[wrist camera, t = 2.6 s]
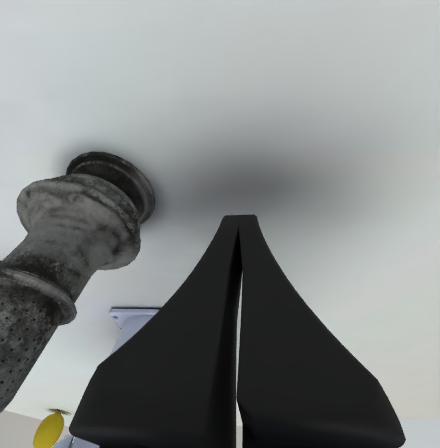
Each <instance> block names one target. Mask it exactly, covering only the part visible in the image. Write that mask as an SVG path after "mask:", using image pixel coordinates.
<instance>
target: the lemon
mask: <svg viewBox="0 0 440 448" xmlns="http://www.w3.org/2000/svg"><path fill="white" fill-rule="evenodd" d="M63 426H64V419H63V417H62V416H61V413H60V411H57V412H56V413H54V414H51V415H49V416H48V417H46V418H45V419H44V420H43V421H42V422H41V424H40V426H39V427H38V429H37V431H36V433H35V436H34V441H33V445H34V448H51V447H52V446H53V445H54V444H55V443H56V441H57V440H58V438H59V437H60V435H61V433H62V430H63Z"/></svg>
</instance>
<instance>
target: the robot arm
mask: <svg viewBox="0 0 440 448" xmlns="http://www.w3.org/2000/svg"><path fill="white" fill-rule="evenodd" d="M242 272H243V279H242V306H241V328H240V348H239V365H238V382H237V397H236V346H237V317H238V307H239V298H240V288H241V278H242ZM109 315H110V316H111V317H112V319H113V320H114V321H115V322H116V324H117V325H118V326H119V327H120V329H121V331H120V334H119V336H118V339H117V341H116V344H115V346H114V348H113V351H112V353H111V355H110V356H109V357H108V358H107V359H105V360H104V361H103V362H102V363H101V364H99V365H98V367H97V369H96V371H95V373H94V374H93V376H92V378H91V380H90V382H89V384H88V386H87V388H86V390H85V392H84V394H83V397H82V399H81V401H80V404H79V406H78V408H77V411H76V413H75V415H74V417H73V420H72V422H71V424H70V427H69V431H70V433H71V435H69V434H68V435H66V436H65V437H64V438H63V439H62V440H60V441H59V442H57V443H56V444H55V445H54V446H53V448H236V398H237V403H238V407H239V411H240V415H241V419H242V423H243V443H242V447H243V448H399V447H401V446H402V445H403V444H404V443H405V440H406V439H405V436H404V433H403V430H402V427H401V424H400V422H399V419H398V417H397V415H396V413H395V411H394V409H393V407H392V405H391V403H390V401H389V399H388V397H387V395H386V394H385V392H384V390H383V388H382V387H381V385H380V383H379V381H378V380H377V379H376V378H375V377H374V376H373V375H372V374H371V373H370V372H369V371H368V370H367V369H366V368H365V367H364V366H363V365H362V364H361V363H360V362H359V361H358V360H357V359H356V358H355V357H354V356H353V355H352V354H351V353H350V352H349V351H348V350H347V349H346V348H345V347H344V346H343V345H342V344H341V343H340V342H339V341H338V339H337V338H336V337H335V336H334V335H333V334H332V333H331V332H330V331H329V330H328V329H327V328H326V326H325V325H324V324H323V323H322V322H321V321H320V319H319V318H318V317H317V316H316V315H315V314H314V312H313V311H312V310H311V309H310V308H309V307H308V305H307V304H306V303H305V302H304V300H303V299H302V298H301V297H300V295H299V294H298V293H297V291H296V290H295V289H294V287H293V286H292V284H291V283H290V282H289V280H288V279H287V277H286V276H285V274H284V273H283V271H282V270H281V268H280V266H279V265H278V263H277V262H276V260H275V258H274V256H273V255H272V253H271V251H270V249H269V247H268V245H267V243H266V241H265V239H264V237H263V234H262V232H261V230H260V227H259V224H258V220H257V216H255V215H229V216H224V217H223V219H222V221H221V224H220V226H219V228H218V230H217V232H216V234H215V236H214V238H213V240H212V241H211V243H210V245H209V247H208V248H207V250H206V252H205V253H204V255H203V256H202V258H201V259H200V261H199V262H198V264H197V265H196V267H195V268H194V270H193V271H192V272H191V274H190V275H189V276H188V278H187V279H186V280H185V282H184V283H183V284H182V285H181V287H180V288H179V289H178V290H177V291H176V292H175V294H174V295H173V296H172V297H171V298H170V299H169V300H168V302H167V303H166V304H165V305H164V306H163V307H162V308H161V309H111V310H110V311H109ZM74 436H75V439H74V442H73V443H72V441H73V438H74Z"/></svg>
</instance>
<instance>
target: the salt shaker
mask: <svg viewBox="0 0 440 448" xmlns="http://www.w3.org/2000/svg"><path fill="white" fill-rule="evenodd" d="M154 204H155V198H154V193H153V190H152V188H151V186H150V184H149V182H148V180H147V179H146V178H145V177H144V175H143V174H142V173H141V172H140V171H139V170H138V169H137V168H135V167H134V166H133V165H132V164H131V163H129V162H127V161H125V160H123V159H122V158H120V157H118V156H115V155H111V154H108V153H104V152H89V153H85V154H81V155H80V156H78V157H77V158H75V159H74V160H72V161H71V163H70V165H69V166H68V168H67V172H66V175H65V176H60V177H56V178H52V179H45V180H40V181H36V182H33V183H31V184H30V185H28V186H27V187H25V188H24V189H23V190H22V191H21V193H20V195H19V196H18V198H17V213H18V216H19V218H20V221H21V224H22V225H23V227H24V228H25V229H26V231H27V232H28V235H27V236H26V238H25V239H24V240H23V241H22V242H21V243H20V244H19V245H18V246H17V247H16V248H15V249H14V250H13V251H12V252H11V253H10V254H9V255H8V256H7V257H6V258H5V259H4V260H3V261H2V262H1V263H0V413H1V412H2V411H3V410H4V409H5V408H6V407H7V405H8V404H9V403H10V402H11V401H12V399H13V398H14V396H15V395H16V393H17V391H18V390H19V388H20V386H21V385H22V383H23V382H24V380H25V378H26V377H27V375H28V374H29V372H30V370H31V369H32V367H33V366H34V364H35V362H36V361H37V359H38V358H39V356H40V354H41V353H42V351H43V350H44V348H45V346H46V345H47V343H48V342H49V340H50V338H51V337H52V335H53V333H54V332H55V330H56V329H57V327H58V326H59V325H64V324H68V323H70V322H71V321H73V320H74V319H75V317H76V314H77V311H76V307H75V305H74V303H75V302H76V300H77V299H78V297H79V295H80V294H81V292H82V290H83V289H84V287H85V286H86V284H87V282H88V281H89V279H90V277H91V276H92V275H93V274H94V273H95V272H96V271H97V270H112V269H118V268H121V267H124V266H127V265H128V264H130V263H131V262H132V261H134V260H135V258H136V256H137V255H138V253H139V251H140V242H141V240H140V224H141V223H144V222H145V221H146V220H147V219H148V218H149V217H150V216H151V214H152V212H153V210H154Z"/></svg>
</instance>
